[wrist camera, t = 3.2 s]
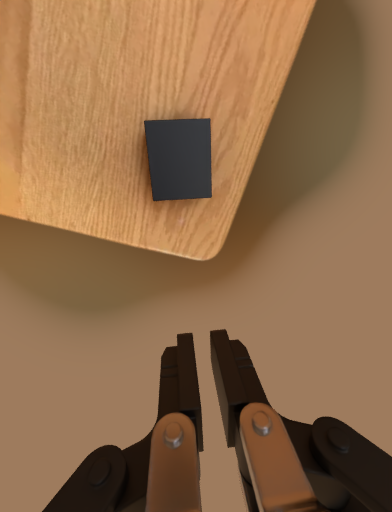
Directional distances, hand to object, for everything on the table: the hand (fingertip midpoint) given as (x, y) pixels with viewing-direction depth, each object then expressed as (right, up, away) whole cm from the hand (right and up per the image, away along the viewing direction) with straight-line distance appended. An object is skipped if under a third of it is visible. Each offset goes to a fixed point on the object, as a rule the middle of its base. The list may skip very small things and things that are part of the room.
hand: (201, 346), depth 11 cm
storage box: (-2, +14, +13) cm, 19 cm away
